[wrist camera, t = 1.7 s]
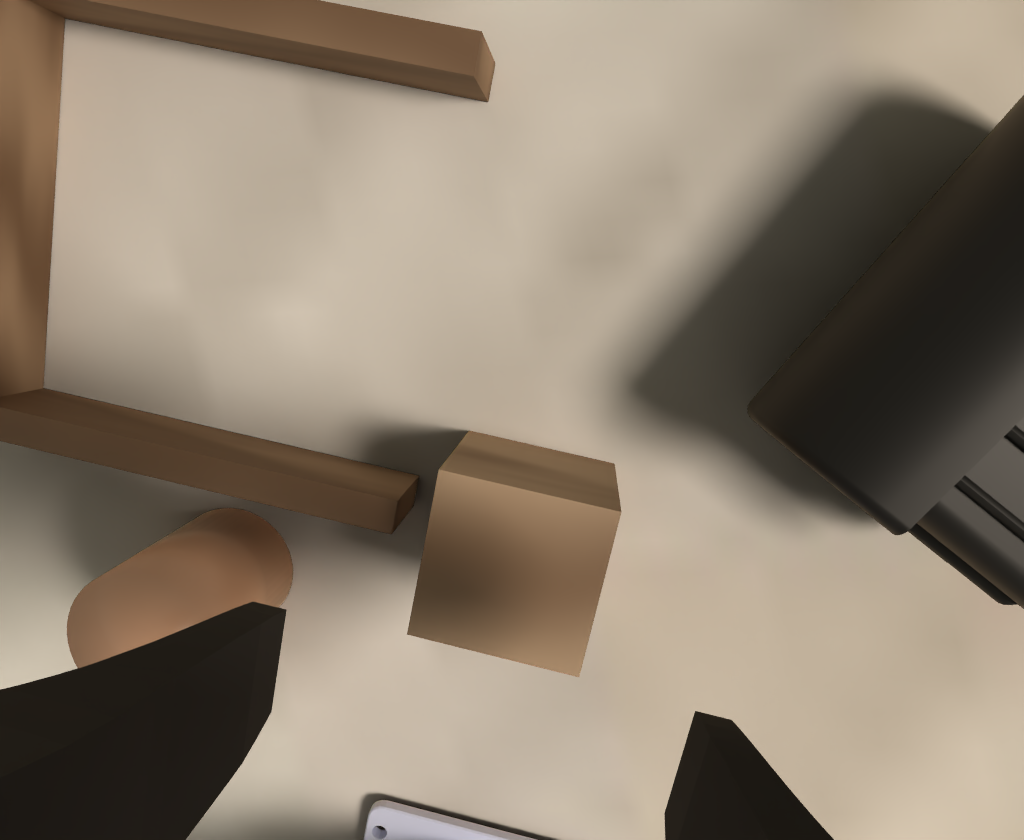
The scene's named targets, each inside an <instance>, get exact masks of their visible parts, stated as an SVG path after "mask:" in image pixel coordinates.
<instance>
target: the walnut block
mask: <svg viewBox="0 0 1024 840" xmlns="http://www.w3.org/2000/svg"><path fill="white" fill-rule="evenodd" d="M620 515H621V506H620V499H619V492H618V485H617V478H616V471H615V464H613V463H609V462H604V461H600V460H596V459H591V458H587V457H583V456H578V455H574V454H569V453H565V452H561V451H556V450H552V449H547V448H543V447H539V446H534V445H530V444H526V443H521V442H517V441H512V440H508V439H504V438H499V437H495V436H491V435H486V434H482V433H477V432H473V431H468V433H467V434H466V435H465V437H464V438H463V439H462V440H461V442H460V443H459V444H458V445H457V447H456V448H455V449H454V451H453V452H452V453H451V454H450V456H449V457H448V458H447V460H446V461H445V462H444V463H443V465H442V466H441V467H440V469H439V471H438V476H437V481H436V486H435V492H434V497H433V502H432V507H431V512H430V518H429V523H428V528H427V533H426V539H425V544H424V549H423V554H422V559H421V565H420V570H419V575H418V580H417V586H416V591H415V596H414V601H413V606H412V612H411V617H410V622H409V627H408V632H407V635H412V636H416V637H420V638H424V639H428V640H432V641H436V642H440V643H444V644H448V645H452V646H456V647H460V648H464V649H468V650H472V651H476V652H480V653H484V654H488V655H492V656H496V657H500V658H504V659H508V660H512V661H516V662H520V663H524V664H528V665H532V666H536V667H540V668H544V669H548V670H552V671H556V672H560V673H564V674H568V675H572V676H576V677H579V675H580V671H581V668H582V664H583V660H584V656H585V652H586V648H587V644H588V640H589V636H590V632H591V628H592V625H593V621H594V617H595V613H596V609H597V605H598V601H599V597H600V593H601V589H602V585H603V582H604V578H605V574H606V570H607V566H608V562H609V558H610V554H611V550H612V546H613V542H614V539H615V535H616V531H617V527H618V523H619V519H620Z"/></svg>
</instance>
